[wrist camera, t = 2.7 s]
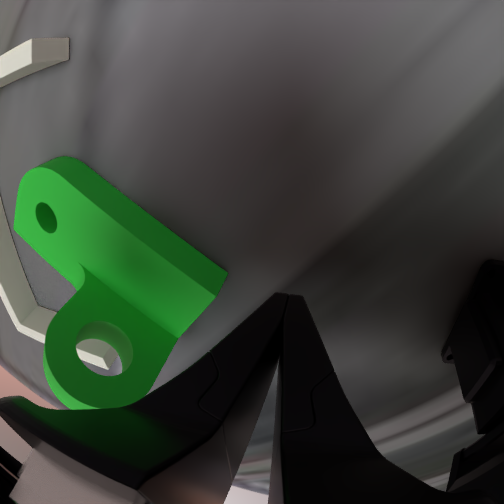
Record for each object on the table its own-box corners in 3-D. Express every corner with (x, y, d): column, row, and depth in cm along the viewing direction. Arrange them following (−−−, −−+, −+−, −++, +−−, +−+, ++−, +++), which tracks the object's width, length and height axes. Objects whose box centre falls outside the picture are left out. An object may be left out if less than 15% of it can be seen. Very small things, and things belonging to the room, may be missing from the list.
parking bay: (68, 37, 10) (31, 38, 8) (125, 344, 20) (108, 369, 18) (-24, 83, 12) (-51, 91, 10) (34, 313, 22) (17, 330, 20)
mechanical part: (229, 271, 15) (158, 412, 8) (177, 330, 18) (116, 440, 12) (53, 135, 13) (-70, 194, 7) (34, 214, 17) (-56, 283, 10)
